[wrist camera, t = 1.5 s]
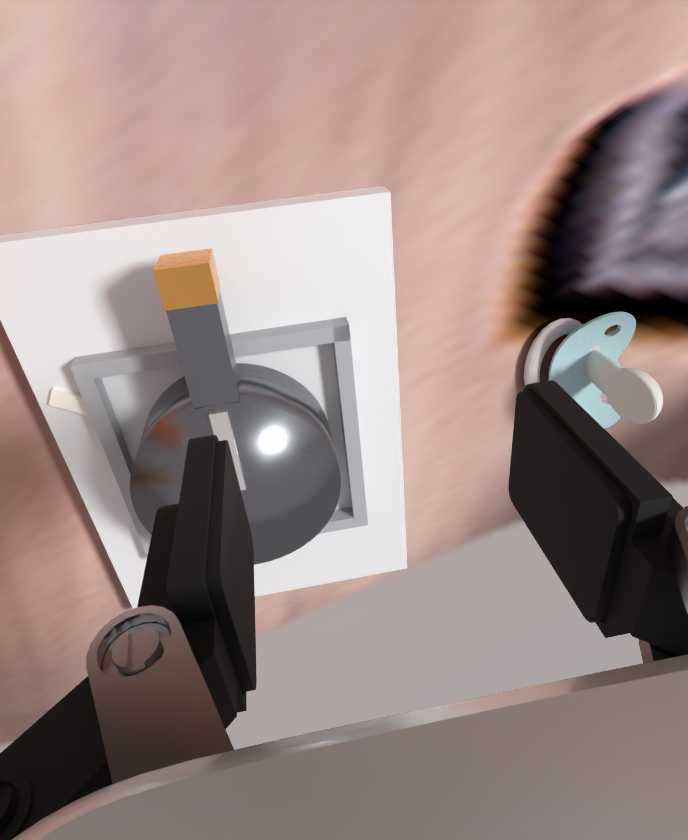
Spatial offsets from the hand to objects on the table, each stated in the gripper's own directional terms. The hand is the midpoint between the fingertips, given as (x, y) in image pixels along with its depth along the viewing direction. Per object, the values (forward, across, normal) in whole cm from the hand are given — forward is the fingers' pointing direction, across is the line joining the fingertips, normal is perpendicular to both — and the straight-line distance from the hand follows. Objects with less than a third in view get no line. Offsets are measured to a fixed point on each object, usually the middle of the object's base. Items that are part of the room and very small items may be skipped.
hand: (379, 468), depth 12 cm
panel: (+18, +5, +10) cm, 21 cm away
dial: (+16, +5, +6) cm, 18 cm away
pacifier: (+18, -15, +8) cm, 25 cm away
